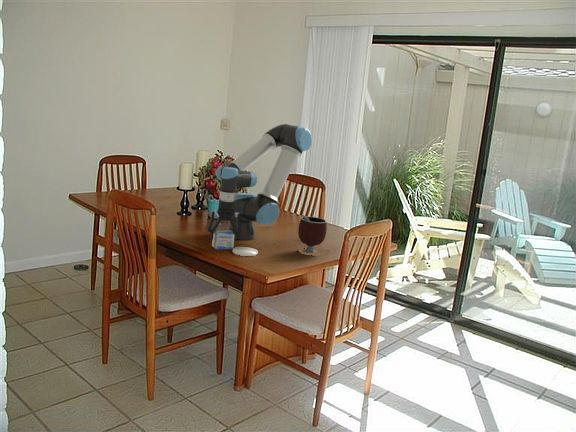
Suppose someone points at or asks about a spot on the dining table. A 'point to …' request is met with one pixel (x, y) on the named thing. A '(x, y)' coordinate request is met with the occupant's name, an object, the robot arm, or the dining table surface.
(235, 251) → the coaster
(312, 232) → the mate gourd
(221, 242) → the medicine box
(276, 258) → the dining table surface
